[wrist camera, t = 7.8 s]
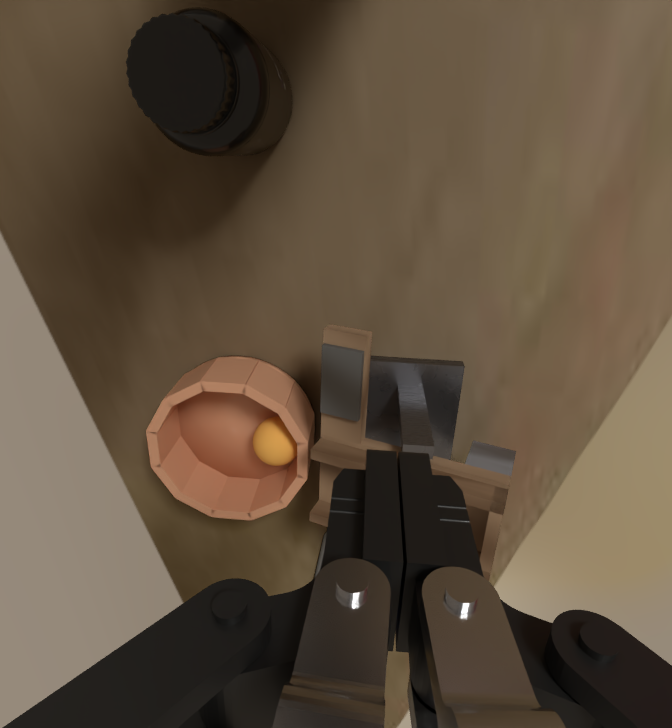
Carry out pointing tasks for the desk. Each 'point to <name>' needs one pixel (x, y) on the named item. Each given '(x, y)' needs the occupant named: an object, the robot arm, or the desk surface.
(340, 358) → the chute
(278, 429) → the ball
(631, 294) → the desk surface
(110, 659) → the robot arm
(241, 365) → the pink round bowl
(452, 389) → the chute stand
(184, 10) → the supplement bottle
